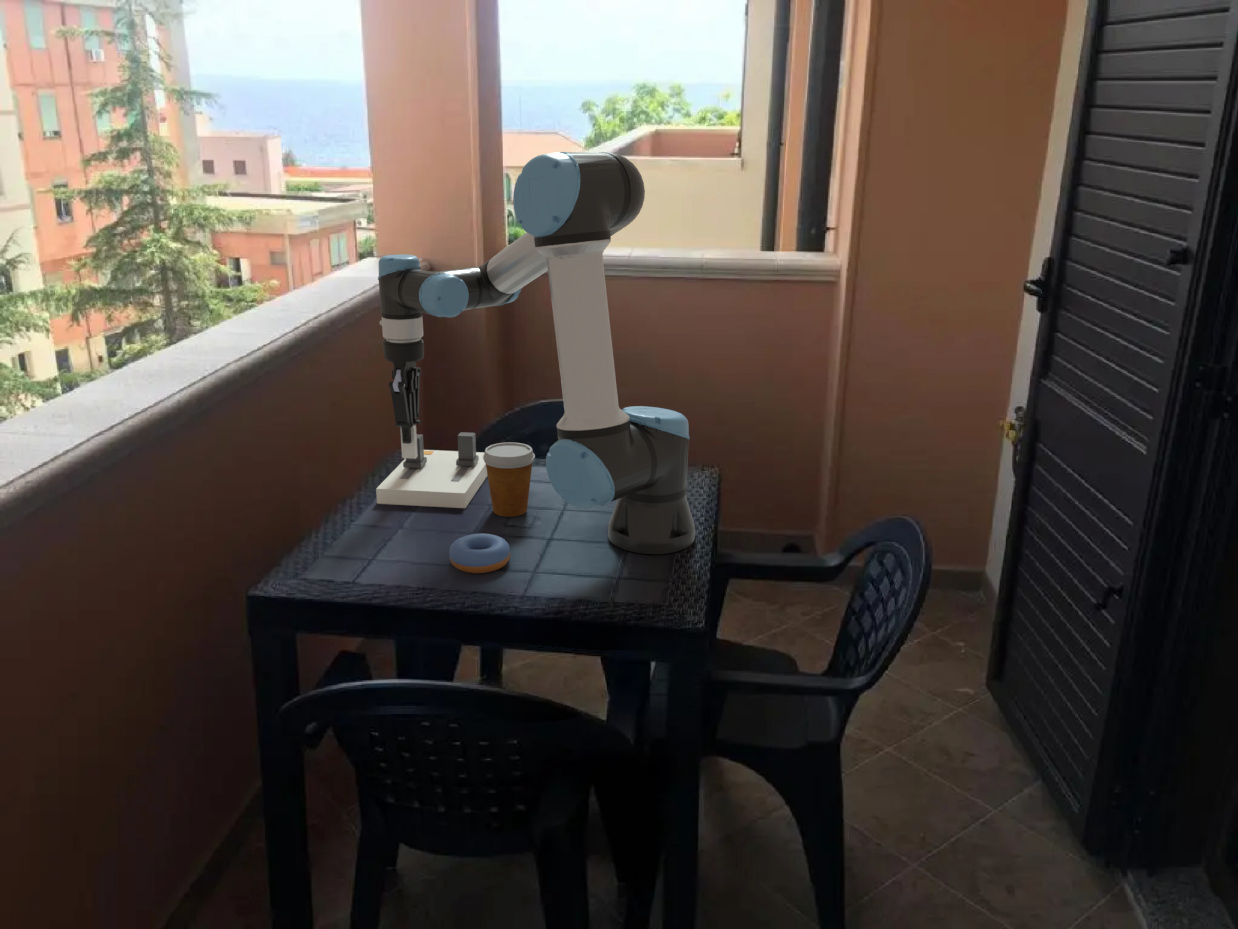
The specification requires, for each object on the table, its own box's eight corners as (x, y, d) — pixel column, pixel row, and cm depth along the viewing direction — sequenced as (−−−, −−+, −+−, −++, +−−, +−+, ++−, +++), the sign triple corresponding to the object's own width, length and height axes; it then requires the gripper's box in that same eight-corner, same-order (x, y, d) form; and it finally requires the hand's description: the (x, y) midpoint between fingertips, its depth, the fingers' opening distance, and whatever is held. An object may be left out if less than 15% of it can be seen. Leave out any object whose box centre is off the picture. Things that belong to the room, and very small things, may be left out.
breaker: (473, 466, 195) (472, 437, 193) (456, 465, 195) (455, 436, 193) (478, 459, 199) (477, 431, 197) (461, 459, 199) (460, 431, 197)
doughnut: (441, 573, 156) (443, 546, 154) (455, 551, 165) (457, 525, 164) (503, 581, 155) (505, 555, 154) (513, 558, 165) (515, 533, 164)
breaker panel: (465, 508, 183) (464, 492, 182) (377, 503, 184) (376, 488, 183) (493, 466, 205) (493, 452, 204) (414, 462, 207) (414, 448, 206)
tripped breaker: (421, 468, 193) (419, 439, 191) (403, 467, 194) (401, 438, 192) (426, 461, 197) (425, 433, 195) (409, 461, 197) (407, 432, 195)
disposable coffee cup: (532, 521, 177) (532, 458, 173) (480, 519, 178) (478, 457, 174) (538, 502, 186) (537, 442, 182) (488, 500, 187) (486, 441, 183)
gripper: (394, 331, 191) (401, 446, 198) (372, 345, 178) (380, 467, 186) (432, 332, 190) (437, 447, 198) (412, 346, 178) (419, 468, 185)
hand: (409, 457), depth 192 cm, fingers closed
